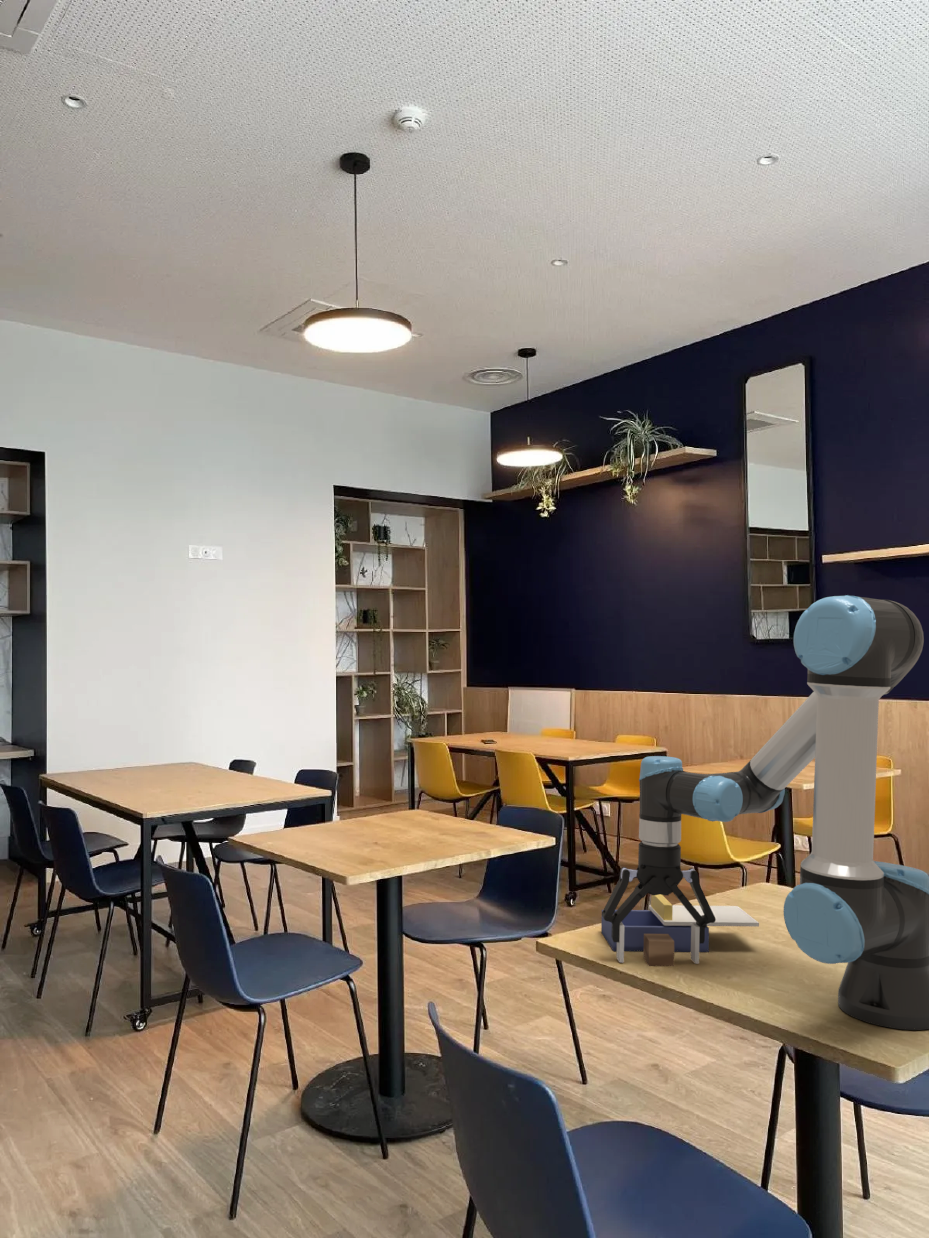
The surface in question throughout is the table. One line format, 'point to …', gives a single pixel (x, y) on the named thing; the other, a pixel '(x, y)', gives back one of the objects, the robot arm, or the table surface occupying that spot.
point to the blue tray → (651, 932)
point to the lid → (682, 917)
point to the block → (658, 950)
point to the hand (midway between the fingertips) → (657, 960)
